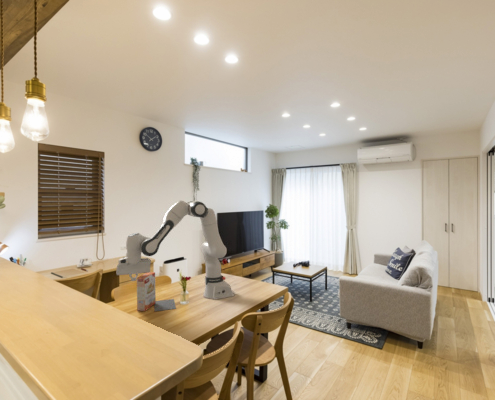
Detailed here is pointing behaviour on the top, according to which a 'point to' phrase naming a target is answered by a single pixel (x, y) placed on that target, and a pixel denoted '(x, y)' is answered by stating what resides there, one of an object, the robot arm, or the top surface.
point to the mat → (164, 305)
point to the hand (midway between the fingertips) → (133, 280)
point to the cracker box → (146, 291)
